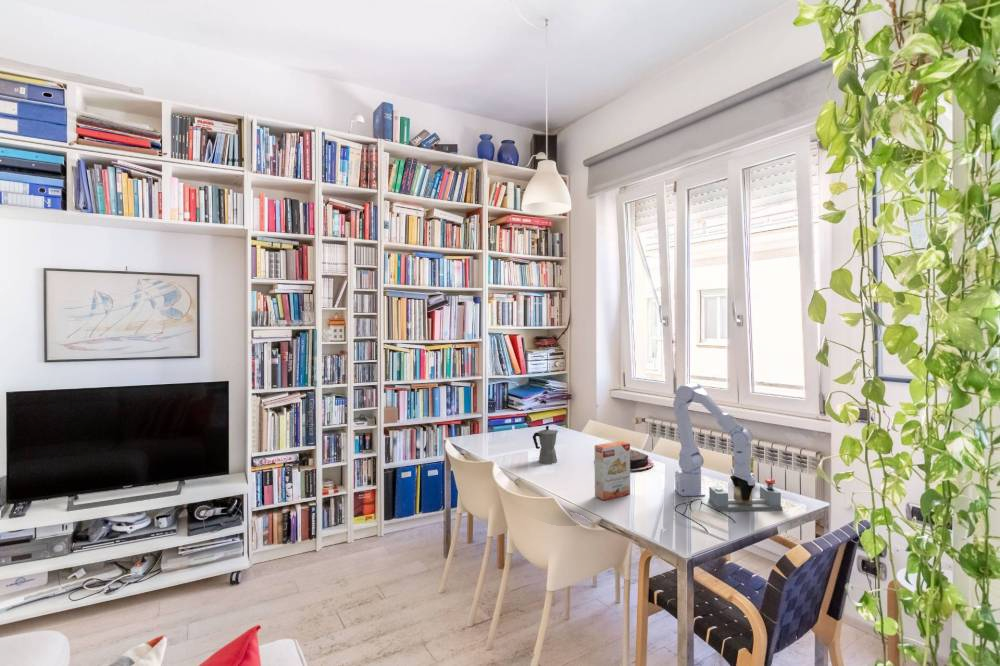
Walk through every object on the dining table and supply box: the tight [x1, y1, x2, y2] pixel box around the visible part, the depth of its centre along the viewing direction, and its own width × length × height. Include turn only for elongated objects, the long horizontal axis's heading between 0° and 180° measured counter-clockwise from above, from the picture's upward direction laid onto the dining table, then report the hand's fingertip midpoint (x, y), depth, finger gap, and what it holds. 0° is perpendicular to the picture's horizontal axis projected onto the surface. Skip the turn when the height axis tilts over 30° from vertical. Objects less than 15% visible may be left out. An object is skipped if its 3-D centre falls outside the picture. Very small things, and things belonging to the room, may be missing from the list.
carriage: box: [733, 486, 753, 504], centre depth 181 cm, size 5×4×5 cm
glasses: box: [674, 498, 737, 533], centre depth 169 cm, size 14×15×5 cm
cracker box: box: [594, 440, 631, 501], centre depth 194 cm, size 14×6×21 cm, turn 118°
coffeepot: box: [532, 425, 559, 465], centre depth 242 cm, size 15×9×18 cm, turn 121°
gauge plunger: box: [764, 478, 776, 491], centre depth 180 cm, size 3×3×4 cm
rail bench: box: [707, 485, 783, 512], centre depth 181 cm, size 23×9×6 cm, turn 88°
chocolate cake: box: [630, 448, 654, 472], centre depth 237 cm, size 28×28×7 cm
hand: (742, 497), depth 181 cm, fingers closed on carriage, 4 cm apart
